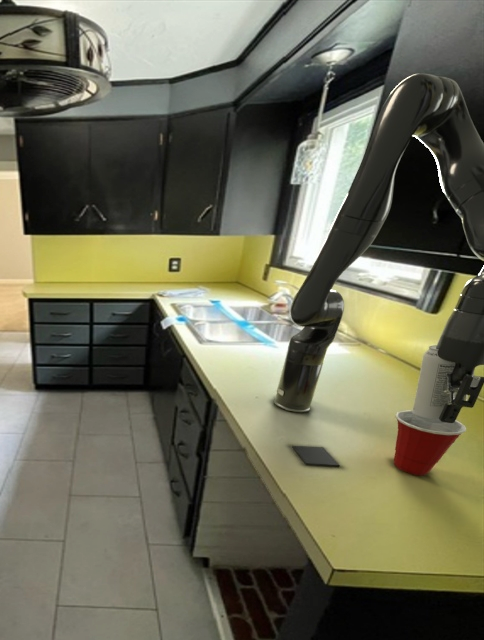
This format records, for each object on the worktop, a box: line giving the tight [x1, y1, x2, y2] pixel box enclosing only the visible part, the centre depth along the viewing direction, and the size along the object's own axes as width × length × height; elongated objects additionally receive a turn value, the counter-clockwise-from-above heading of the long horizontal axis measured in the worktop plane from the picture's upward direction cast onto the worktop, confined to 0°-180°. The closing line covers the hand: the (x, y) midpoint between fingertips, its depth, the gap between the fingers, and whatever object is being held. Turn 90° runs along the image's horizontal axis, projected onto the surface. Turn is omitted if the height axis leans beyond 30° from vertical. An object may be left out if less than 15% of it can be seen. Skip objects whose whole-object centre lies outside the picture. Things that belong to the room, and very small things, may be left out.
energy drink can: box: [412, 344, 459, 423], centre depth 73 cm, size 6×6×15 cm
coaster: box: [292, 445, 340, 467], centre depth 83 cm, size 7×7×1 cm
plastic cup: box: [393, 409, 467, 476], centre depth 77 cm, size 11×11×12 cm
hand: (434, 412), depth 74 cm, fingers open, 8 cm apart
